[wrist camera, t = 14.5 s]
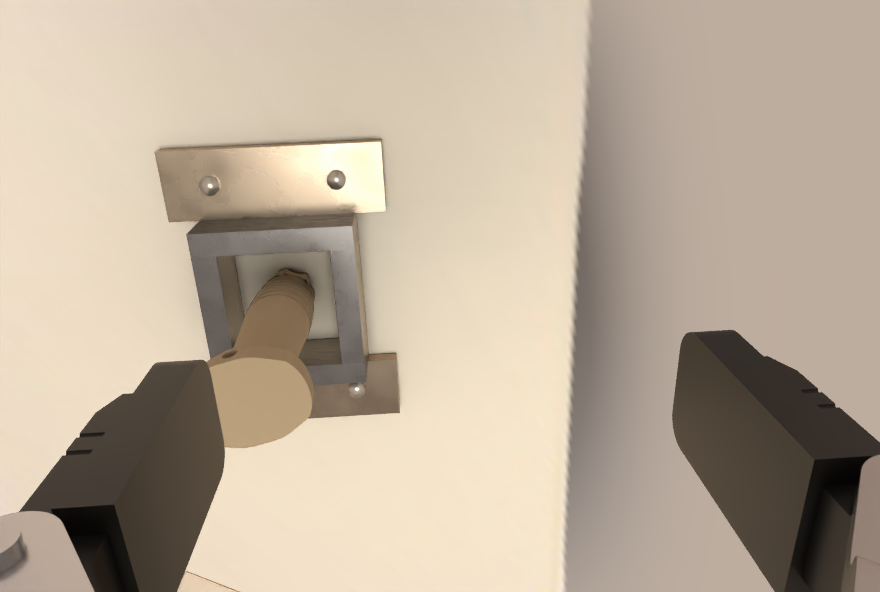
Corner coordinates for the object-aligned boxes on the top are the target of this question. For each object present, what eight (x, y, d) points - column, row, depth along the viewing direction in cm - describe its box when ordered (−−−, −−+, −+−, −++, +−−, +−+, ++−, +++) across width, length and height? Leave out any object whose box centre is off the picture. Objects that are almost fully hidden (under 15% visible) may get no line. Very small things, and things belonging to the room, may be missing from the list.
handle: (346, 306, 46) (325, 426, 32) (261, 330, 47) (203, 460, 33) (323, 244, 44) (290, 344, 31) (234, 270, 45) (161, 380, 31)
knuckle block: (160, 149, 41) (136, 161, 38) (381, 139, 42) (379, 150, 38) (213, 417, 49) (198, 448, 45) (399, 405, 50) (399, 436, 46)
